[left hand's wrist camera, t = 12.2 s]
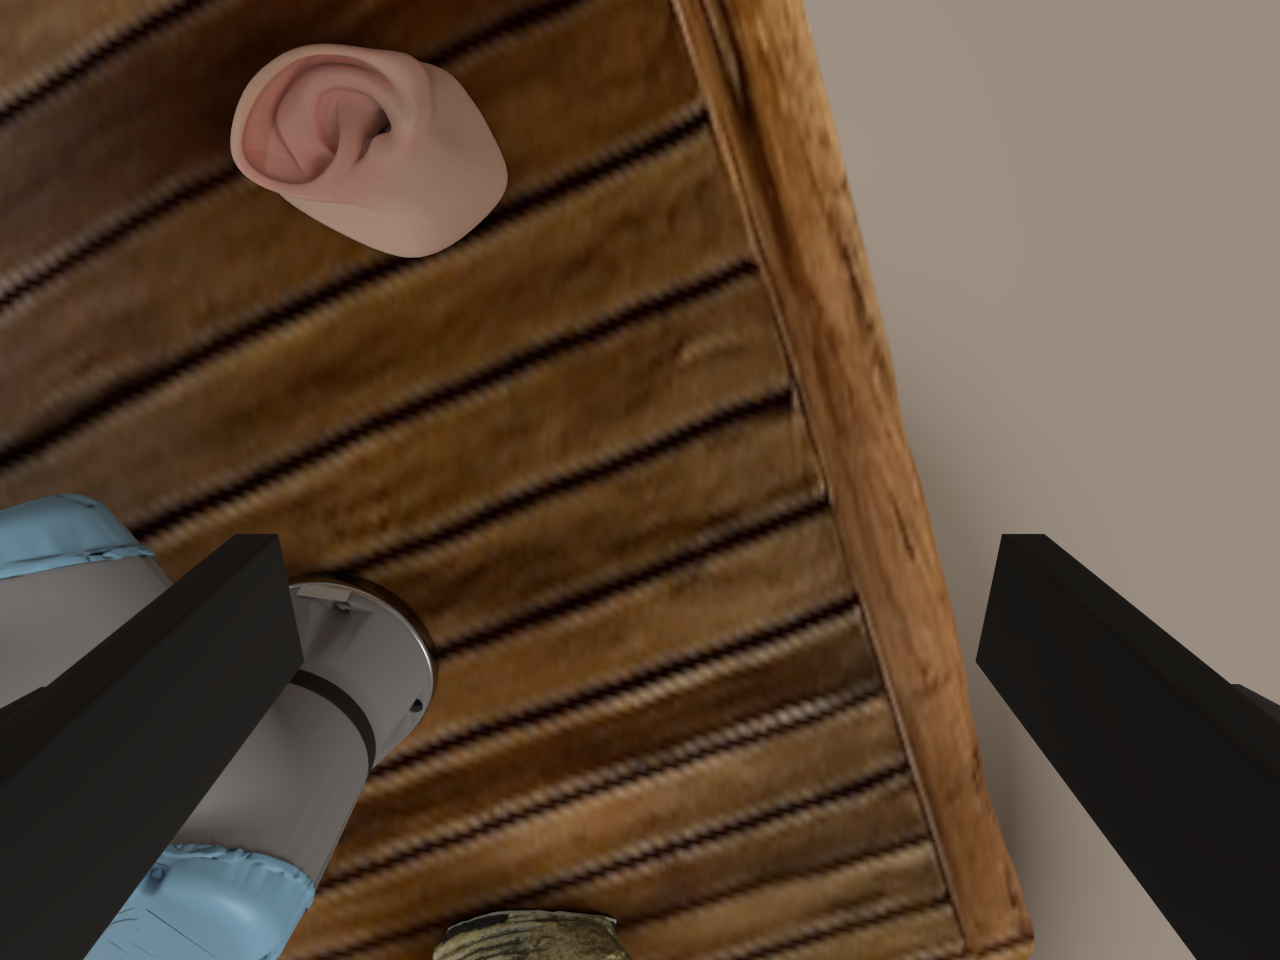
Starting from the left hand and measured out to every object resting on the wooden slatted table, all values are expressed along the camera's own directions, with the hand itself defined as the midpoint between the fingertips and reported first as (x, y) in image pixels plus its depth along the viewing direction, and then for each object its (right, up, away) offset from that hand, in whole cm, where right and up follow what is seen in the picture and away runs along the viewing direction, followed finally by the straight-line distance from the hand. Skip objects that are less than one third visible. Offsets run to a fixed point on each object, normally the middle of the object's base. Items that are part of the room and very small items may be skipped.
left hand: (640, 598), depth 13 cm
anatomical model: (-15, +21, +28) cm, 38 cm away
